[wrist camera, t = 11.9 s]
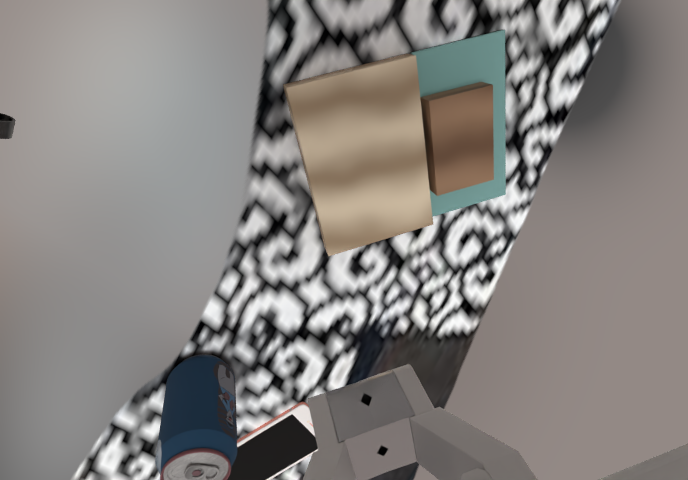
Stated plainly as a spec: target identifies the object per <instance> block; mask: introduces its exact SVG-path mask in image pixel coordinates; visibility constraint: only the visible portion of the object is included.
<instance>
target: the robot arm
mask: <svg viewBox="0 0 688 480" xmlns="http://www.w3.org/2000/svg"><path fill="white" fill-rule="evenodd" d="M308 405H309V410H310V415H311V419H312V424H313V428H314V433H315V437H316V442H317V446H318V451H316V452H313V454H312V457H311V460H310V462H309V465H308V468H307V470H306V473H305V475H304V478H303V480H368V479H370V478H373V477H375V476H378V475H380V474H382V473H385V472H387V471H390V470H393V469H396V468H399V467H402V466H405V465H408V464H411V463H414V462H417V461H418V463H419V464H420V465H421V466H422V467H424V468H425V469H426V470H427V471H429V472H430V473H431V474H432V475H434V476H435V477H436V478H437V479H439V480H537V478H536V477H535V475H534V474H533V472H532V471H531V469H530V468H529V467H528V465H527V463H526V462H525V461H524V459H523V458H522V456H521V455H520V453H519V452H518V451H517V450H515V449H513V448H511V447H510V446H508V445H506V444H504V443H502V442H501V441H499V440H497V439H495V438H494V437H492V436H490V435H488V434H486V433H485V432H483V431H481V430H479V429H478V428H476V427H474V426H472V425H470V424H469V423H467V422H465V421H463V420H462V419H460V418H458V417H456V416H454V415H453V414H451V413H449V412H447V411H446V410H444V409H442V408H440V407H438V408H435V409H434V407H433V405H432V403H431V401H430V400H429V398H428V396H427V394H426V392H425V390H424V389H423V387H422V385H421V383H420V381H419V379H418V378H417V376H416V374H415V372H414V370H413V368H412V366H410V365H409V364H407V365H405V366H402V367H399V368H396V369H393V370H390V371H387V372H384V373H381V374H378V375H376V376H373V377H370V378H367V379H364V380H362V381H359V382H357V383H354V384H351V385H348V386H345V387H341V388H338V389H335V390H332V391H329V392H326V393H323V394H320V395H317V396H314V397H311V398H308ZM599 480H688V444H686V445H683V446H681V447H679V448H676V449H673V450H671V451H669V452H666V453H664V454H661V455H659V456H656V457H654V458H651V459H649V460H646V461H644V462H641V463H639V464H636V465H634V466H632V467H629V468H626V469H624V470H621V471H619V472H616V473H614V474H611V475H609V476H607V477H604V478H601V479H599Z"/></svg>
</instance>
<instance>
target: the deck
mask: <svg viewBox="0 0 688 480" xmlns="http://www.w3.org/2000/svg"><path fill="white" fill-rule="evenodd" d="M283 87H284V91H285V94H286V98H287V102H288V106H289V110H290V114H291V118H292V122H293V126H294V130H295V134H296V137H297V141H298V145H299V149H300V153H301V157H302V161H303V165H304V169H305V173H306V177H307V180H308V184H309V188H310V192H311V196H312V200H313V204H314V208H315V212H316V216H317V220H318V223H319V227H320V231H321V235H322V239H323V243H324V247H325V249H326V251H327V254H328V256H331V255H334V254H337V253H341V252H344V251H347V250H351V249H354V248H357V247H360V246H364V245H367V244H370V243H373V242H377V241H380V240H383V239H387V238H390V237H393V236H396V235H400V234H403V233H406V232H410V231H413V230H416V229H419V228H423V227H426V226H429V225H432V224H433V218H432V209H431V199H430V189H429V179H428V169H427V159H426V149H425V139H424V129H423V119H422V110H421V100H420V90H419V80H418V70H417V60H416V55H412V54H403V55H399V56H395V57H391V58H387V59H383V60H379V61H375V62H371V63H367V64H363V65H359V66H355V67H351V68H347V69H343V70H339V71H335V72H331V73H327V74H323V75H319V76H315V77H311V78H307V79H303V80H299V81H295V82H291V83H287V84H283Z"/></svg>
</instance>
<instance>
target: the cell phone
mask: <svg viewBox="0 0 688 480" xmlns="http://www.w3.org/2000/svg"><path fill="white" fill-rule="evenodd" d="M316 451H318V446H317V442H316V437H315V433H314V428H313V424H312V419H311V415H310V410H309V406H308V405H307V404H306V403H305V402H300V403H298V404H297V405H295V406H293V407H292V408H290V409H288V410H287V411H285V412H283V413H282V414H280V415H278V416H277V417H275V418H273V419H272V420H270V421H269V422H267V423H265V424H264V425H262V426H260V427H259V428H257V429H255V430H254V431H252V432H250V433H249V434H247V435H245V436H244V437H242V438H240V439H239V440H237V456H236V459H235V461H234V463H233V465H232V467H231V472H230V475H229V477H228V479H227V480H270V479H272V478H273V477H275V476H277V475H278V474H280V473H282V472H283V471H285V470H287V469H288V468H290V467H292V466H294V465H295V464H297V463H299V462H300V461H302V460H304V459H305V458H307V457H309V456H310V455H312V454H313V452H316Z"/></svg>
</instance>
